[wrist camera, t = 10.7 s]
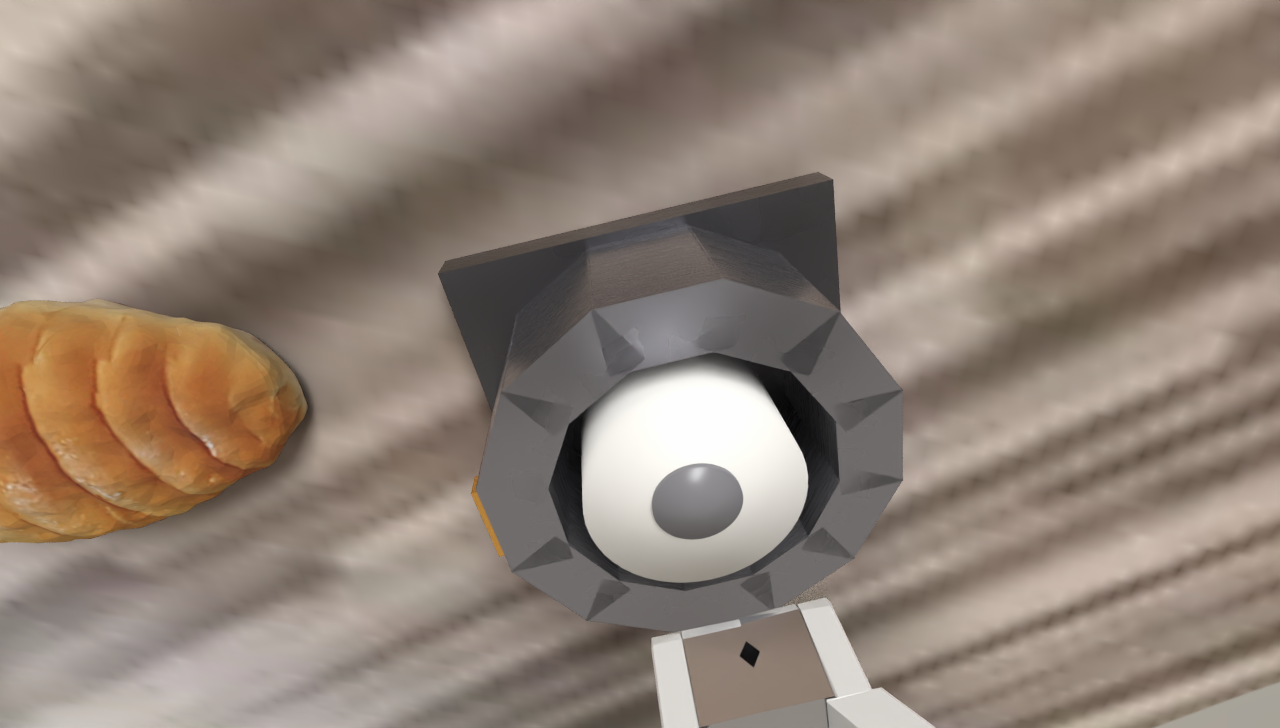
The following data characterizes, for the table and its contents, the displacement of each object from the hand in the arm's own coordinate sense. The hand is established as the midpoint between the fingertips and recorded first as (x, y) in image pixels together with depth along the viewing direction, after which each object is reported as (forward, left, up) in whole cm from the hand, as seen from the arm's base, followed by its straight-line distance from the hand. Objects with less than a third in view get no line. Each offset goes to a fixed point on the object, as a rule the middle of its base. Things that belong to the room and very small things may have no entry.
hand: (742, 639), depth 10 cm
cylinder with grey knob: (0, 0, -8) cm, 8 cm away
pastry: (+15, -4, -10) cm, 18 cm away
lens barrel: (0, 0, -9) cm, 9 cm away
